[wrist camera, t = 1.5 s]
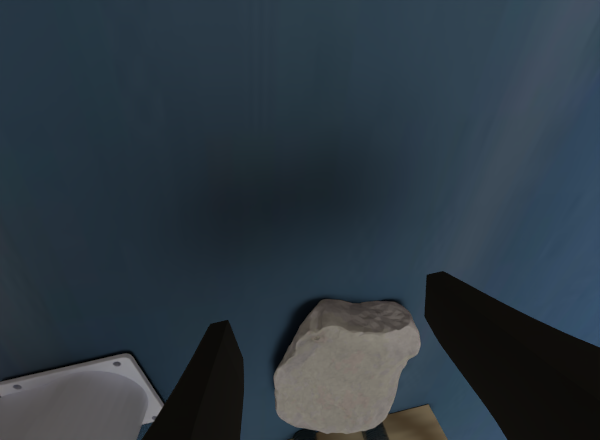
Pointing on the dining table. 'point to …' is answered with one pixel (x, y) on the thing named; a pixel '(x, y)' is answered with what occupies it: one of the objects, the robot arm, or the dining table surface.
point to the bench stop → (389, 428)
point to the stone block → (345, 365)
